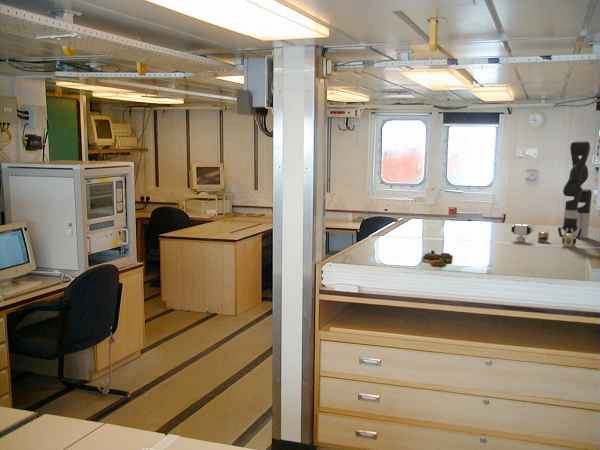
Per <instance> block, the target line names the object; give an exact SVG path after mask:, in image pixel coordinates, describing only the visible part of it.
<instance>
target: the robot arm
mask: <svg viewBox="0 0 600 450" xmlns="http://www.w3.org/2000/svg"><path fill="white" fill-rule="evenodd" d="M590 149H591V143H590V142H589V141H588V140H586V141H580V140H574V141H572V142H571V143H570V157H571V164H572V167H571V170H570V171H569V177H568V180H567V181H566V184H565V185H564V187H563V191H562V192H563V195H564V196H565V197H570V198H571V197H573V199H568V200H566V202H565V205H564V206H565V208H564V213H563V214H564V215H563V224H562V225H563V226H561V227H560V226H558V228H557V230H558V235H559V238H562V241H561V242H562V244H563V245H564V239H565V235H566V234H572V235H573V236H574V239H573V245H574V246H575V245H576V243H577V239H589V231H590V230H589V228H590V214H591V204H592V190H591V189H589V188H587V189H585V188H582V186H583V184H584V183H585V182H586V181H587V180H588V178H589V169H588V166H587V165H586V163H587V161H588V157H589V154H590V152H591V151H590ZM580 157H581V158H580ZM579 203H580V204H583V203H584V205H582V206H579ZM562 231H564V232H562ZM563 233H564V235H563Z"/></svg>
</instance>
